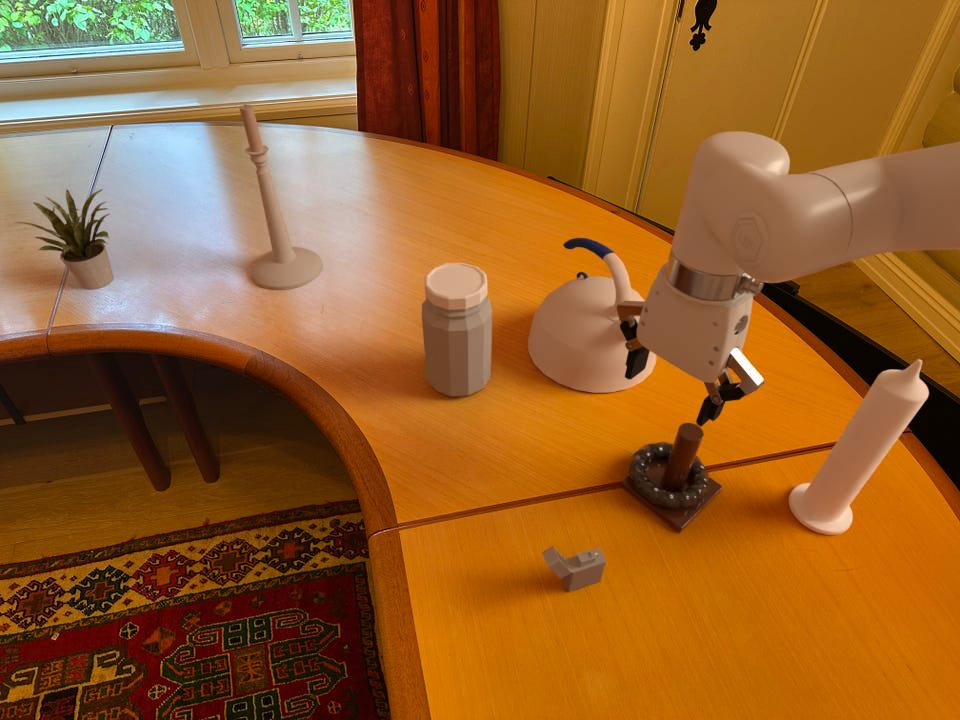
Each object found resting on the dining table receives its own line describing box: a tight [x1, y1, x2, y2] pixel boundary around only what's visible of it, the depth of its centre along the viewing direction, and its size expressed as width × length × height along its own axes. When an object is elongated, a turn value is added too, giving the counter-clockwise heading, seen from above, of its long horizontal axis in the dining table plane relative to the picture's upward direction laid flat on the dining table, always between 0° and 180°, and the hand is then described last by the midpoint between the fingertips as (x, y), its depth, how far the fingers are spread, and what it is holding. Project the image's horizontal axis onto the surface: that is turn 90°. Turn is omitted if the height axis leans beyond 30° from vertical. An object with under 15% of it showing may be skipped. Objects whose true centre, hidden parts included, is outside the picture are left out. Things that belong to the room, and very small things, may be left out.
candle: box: [788, 358, 930, 536], centre depth 66 cm, size 7×7×25 cm
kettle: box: [527, 237, 657, 393], centre depth 90 cm, size 20×21×18 cm
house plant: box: [16, 188, 115, 290], centre depth 104 cm, size 14×14×16 cm
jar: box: [421, 262, 493, 398], centre depth 85 cm, size 10×10×18 cm
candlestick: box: [239, 104, 324, 291], centre depth 102 cm, size 13×13×30 cm
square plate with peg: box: [619, 422, 724, 534], centre depth 73 cm, size 9×9×11 cm
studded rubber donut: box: [628, 441, 710, 509], centre depth 76 cm, size 10×10×2 cm
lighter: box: [541, 545, 607, 593], centre depth 64 cm, size 7×2×8 cm, turn 109°
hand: (668, 395), depth 69 cm, fingers open, 9 cm apart
